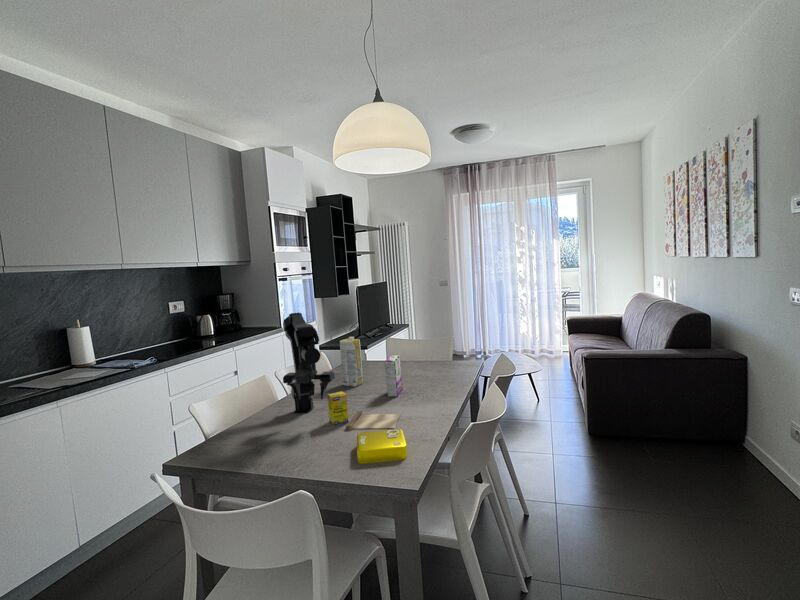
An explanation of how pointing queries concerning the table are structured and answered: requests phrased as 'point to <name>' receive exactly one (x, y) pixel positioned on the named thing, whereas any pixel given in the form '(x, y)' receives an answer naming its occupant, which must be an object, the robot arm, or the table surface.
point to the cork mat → (377, 421)
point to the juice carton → (351, 362)
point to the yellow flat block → (381, 446)
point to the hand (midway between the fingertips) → (310, 399)
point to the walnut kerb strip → (353, 420)
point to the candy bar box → (393, 375)
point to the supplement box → (337, 408)
